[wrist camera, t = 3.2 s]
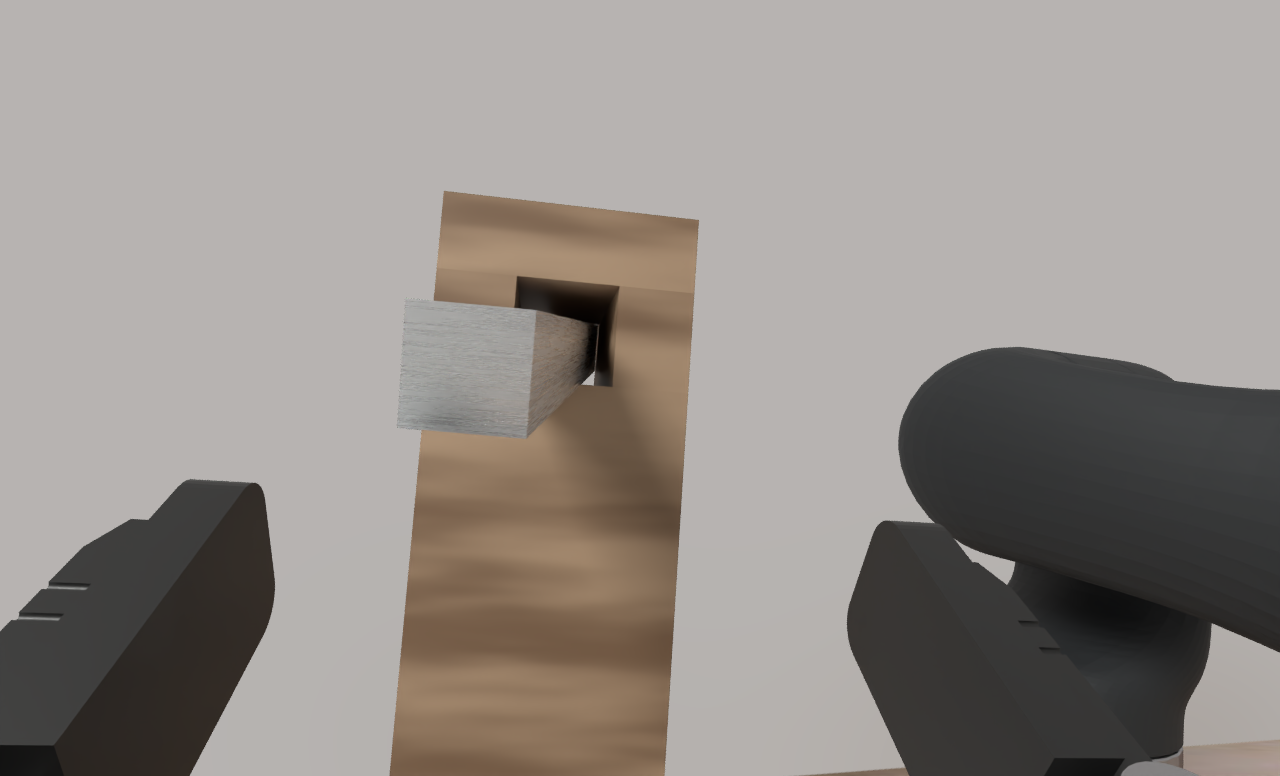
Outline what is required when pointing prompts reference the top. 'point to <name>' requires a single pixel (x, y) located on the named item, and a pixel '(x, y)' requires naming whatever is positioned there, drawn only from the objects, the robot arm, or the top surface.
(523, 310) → the pin
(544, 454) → the post
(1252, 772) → the top surface
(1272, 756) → the top surface
